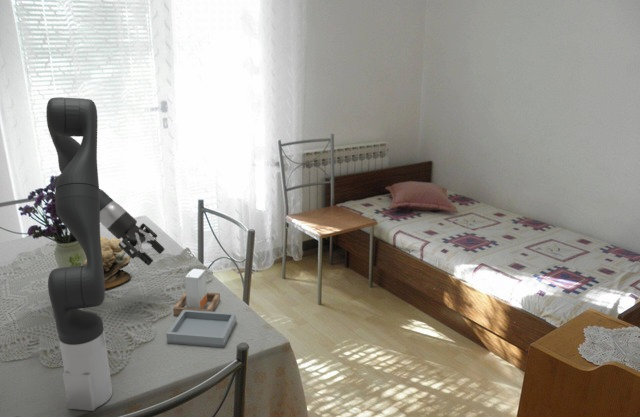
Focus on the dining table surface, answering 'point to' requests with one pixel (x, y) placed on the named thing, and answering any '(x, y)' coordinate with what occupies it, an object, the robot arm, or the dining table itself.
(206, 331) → the tray
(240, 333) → the dining table surface
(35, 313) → the dining table surface
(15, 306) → the dining table surface
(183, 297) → the socket block
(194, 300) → the skincare box
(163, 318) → the dining table surface
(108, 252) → the beige lumpy sculpture
